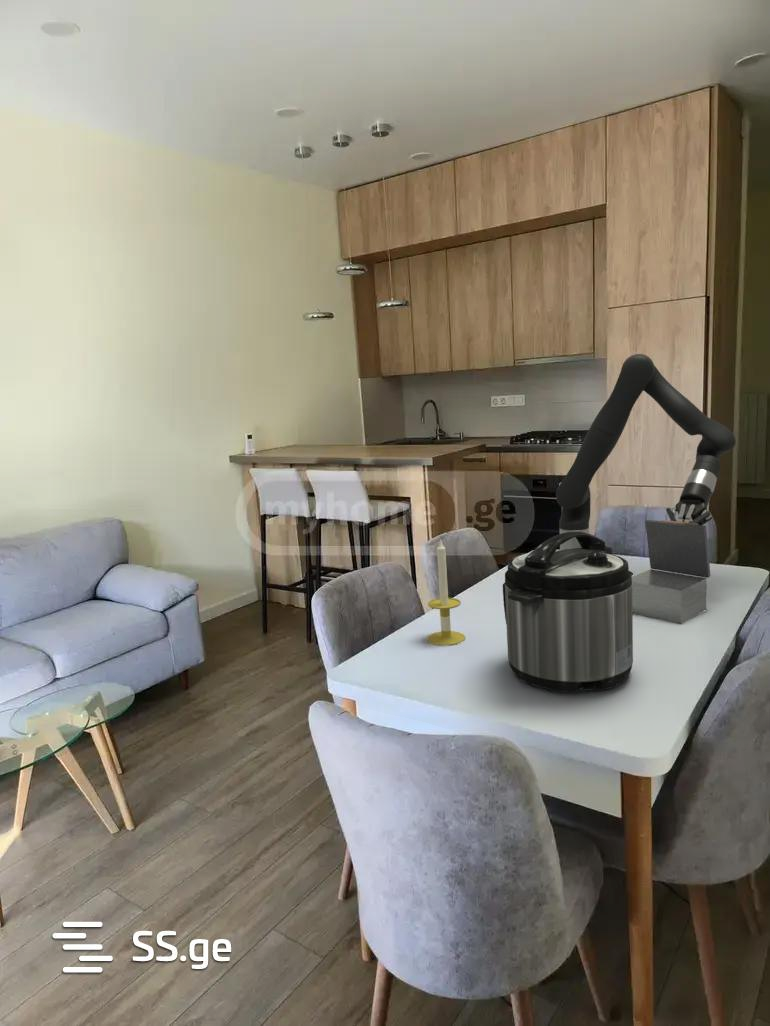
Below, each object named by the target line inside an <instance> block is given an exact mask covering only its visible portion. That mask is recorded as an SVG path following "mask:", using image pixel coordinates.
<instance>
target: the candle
mask: <svg viewBox="0 0 770 1026" xmlns="http://www.w3.org/2000/svg"><path fill="white" fill-rule="evenodd" d="M446 552H447V551H446V547H445V546H444V545H443V541H442V538H440V540H439V543H438V546H437V547H436V554H437V555H436V557H437V573H438V588H439V589H438V590H439V598H434V599H431V600H430V601H428V603H427V606H428V607H430V608H431V609H434V610H439V612H440V613H439V615H440V616H439V619H440V631H437V632H436V631H435V632H433V633H431V634H430V635H428V637H427V639H426V640H427V641H428V642H430V643H429V644H431V643H433V644H432V645H434V644H437V645H436V646H439V645H450V646H455V645H454V644H456V645H459V644H461V643H460V642H462V641H463V642H465V640H466V635H465V634H464V633H461V632H460V631H453V630H451V629H452V627H451V614H450V610H451V609H454V608H455V609H456V608H458V607H459V606H460V605H461V600H460V599H459V598H458V599H457V598H455V597H454V598H453V597H449V590H448V573H447V555H446ZM463 642H462V643H463ZM458 643H459V644H458Z"/></svg>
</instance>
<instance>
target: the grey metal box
mask: <svg viewBox="0 0 770 1026" xmlns="http://www.w3.org/2000/svg"><path fill="white" fill-rule="evenodd" d="M707 579H708V578H706V577H700V576H693V575H687V574H681V573H674V572H668V571H662V570H656V569H651V568H650V569H647V570H645V571H643V572H641V573H639V574H636V575H634V576H632V600H633V601H632V610H633V615H639V616H642V615H643V616H644V617H648V618H653V619H655V620H657V619H658V620H662V621H666V622H671V623H675V624H680V625H682V624H684V623H686V622H688V621H689V620H691V619H692V618H694V616H695V617H697V616H698V615H700V614H702V613H704V612H705V611H704V610H706V611H707V586H708V585H707ZM703 611H704V612H703ZM701 612H702V613H701ZM699 613H700V614H699ZM643 616H642V617H643Z"/></svg>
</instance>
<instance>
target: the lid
mask: <svg viewBox="0 0 770 1026" xmlns="http://www.w3.org/2000/svg"><path fill="white" fill-rule="evenodd" d="M644 523H645V525H644V526H645V531H646V541H647V549H648V556H649V557H648V558H649V566H650V567H649V568H650V569H652V570H658V571H664V572H671V573H677V574H683V575H689V576H696V577H702V578H707V579H709V578H710V577H711V567H710V555H709V553H710V552H709V545H708V544H709V543H708V541H709V540H708V533H707V525H705V524H703V525H697V523H688V522H678V520H676V521H671V520H666V519H661V520H655V519H654V520H653V519H647V520H645V521H644Z"/></svg>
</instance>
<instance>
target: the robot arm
mask: <svg viewBox="0 0 770 1026" xmlns="http://www.w3.org/2000/svg"><path fill="white" fill-rule="evenodd" d="M643 392H644V393H646V394H647V395H648V396H649V397H651V398H652V399H653V400H654V401H655V402H656V403H657V404H658V405H659V406H660V408H661V409H662V410H663V411H664V412H665V413H666V415H667V416H668V417H670V419H671V420H673V422H674V423H675V424H676V425H678V426H679V428H681V429H682V430H683V431H684V432H685V433H686V434H687V435H689V436H698V435H699V436H702V439H701V440H700V441H699V443H698V445H697V447H696V453H695V454H696V455H695V462H694V464H693V467H692V469H691V471H690V474H689V475H688V477H687V479H686V481H685V485H684V487H683V490H682V492H681V494H680V497H679V500H678V502H677V503H676V504H675V506H674V507H672V508H670V507H667V508H665V511H666V513H667V515H668V518H669V521H678V522H688V523H697V525H705V524H707V523H708V522H710V521H711V520H713V516H712V513H711V512H710V511H709V510H708V506H709V503H710V501H711V499H712V496H713V493H714V492H715V488H716V483H717V481H718V478H719V475H720V473H721V470H722V462H721V460H720V459H719V458H720V457H721V456H722V455H724V454H726V453H728V452H729V451H731V450H732V449H733V448H734V447H735V446H736V443H737V442H736V441H737V439H736V437H735V434H734V433H733V431H732V430H730V429H729V427H727V426H726V425H724V424H722V423H720V422H718V421H716V420H715V419H712V418H711V417H708V416H707V415H706V414H705V413H704V412H703V411H701V410H700V408H699V407H697V406H696V405H695V403H693V402H692V401H691V400H689V399H688V397H686V396H684V395H683V394H682V393H681V392H680V391H678V390H677V389H676V388H675V387H674V386H673V385H672V384H671V383H670V382H669V381H668V380H667V379H666V378H665V377H664V375H663V374H662V373H661V372H660V370H658V368H657V367H656V365H655V364H654V362H653V360H652V359H651V358H650V357H649V356H648V355H646V354H643V353H635V354H632V355H630V356H629V357H627V358H626V359H625V361H624V362H623V363H622V366H621V368H620V372H619V375H618V377H617V380H616V383H615V385H614V387H613V390H612V391H611V394H610V396H609V397H608V399H607V400H606V401H605V403H604V404H603V406H602V407H601V409H600V410H599V412H598V413H597V415H596V416H595V418H594V419H593V422H592V423H591V425H590V427H589V429H588V431H587V433H586V434H585V437H584V439H583V441H582V443H581V445H580V447H579V450H578V452H577V454H576V456H575V459H574V461H573V464H572V465H571V466H570V468H569V470H568V471H567V473H566V474H565V476H564V478H563V480H561V482H560V483H559V485H558V486H557V489H556V492H555V498H556V501H557V503H558V505H559V506H560V507H561V512H560V513H561V515H560V518H559V521H558V522H559V523H558V526H559V534H562V533H566V532H584V533H588V534H590V519H591V489H590V484H591V482H592V479H593V478H594V476H595V474H596V473H597V471H599V469H600V467H602V465H603V464H604V463H605V462H606V460H607V459H608V458H609V456H610V455H611V453H612V452H613V450H614V449H615V447H616V445H617V443H618V441H619V440H620V438H621V436H622V435H623V432H624V429H625V427H626V425H627V423H628V420H629V417H630V415H631V412H632V410H633V408H634V406H635V403H636V402H637V401H638V399H639V398H640V396H641V395H642V393H643ZM677 515H678V519H676V516H677ZM573 548H582V547H581V545H580V544H579V542H578V540H577V539H576V537H574V538H572V539H570V540H568V541H566V542H565V543H563V544H561V545H559V550H564V549H573Z"/></svg>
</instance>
